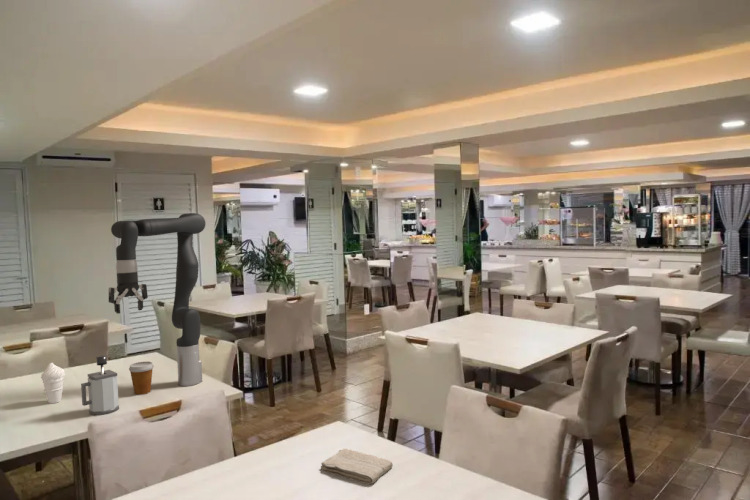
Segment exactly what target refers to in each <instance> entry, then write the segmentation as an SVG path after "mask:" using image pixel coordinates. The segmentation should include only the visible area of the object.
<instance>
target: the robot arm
mask: <svg viewBox="0 0 750 500" xmlns="http://www.w3.org/2000/svg"><path fill="white" fill-rule="evenodd" d="M205 228H206V219H205V218H204V216H202V214H199V213H197V212H196V213H195V212H192V213H191V212H189V213H182V214H181V215H179V217H171V218H167V217H163V218H145V219H138V220H118V221H116V222H114V223H113V224H112V225H111V228H110V232H111V234H112V235H113V237H115V238H117V239H120V244H119V245H117V246H116V247H115V256H116V264H115V267H116V268H115V269H116V284H117V285H116V287H112V286H111V287H108V303H111V304H113V306H114V307H113V308H114V313H116V314H121V304H120V302H121V301H122V300H123V299H124V298H129V297H135V298H136V299H137V310H138V311H142V310H143V309H144V300H146V299H148V288H147V284H145V283H140V284H139V273H138V269H139V268H138V262H137V253H136V247H137V244H138V237H152V236H153V237H154V236H159V235H161V236H162V235H167V234H172V233H173V234H174V233H176V236H177V237H176V239H177V251H176V253H177V254H176V255H177V257H176V266H175V267H176V270H175V290H174V300H173V306H172V312H171V322H172V325H173V327H175V328H176V329H178V330H179V329H180V330H182V331H181V336H180V337H179V338H177V339H176V343H175V344H176V357H177V381H178V384H177V385H179V386H183V387H187V386H188V387H189V386H195V385H197V384H200V383H202V382H203V368H202V367H203V366H202V360H201V359H200V347H199V346H200V344H199V343H200V338H201V316H200V313H199V311H198V310H197V309H195V308H190V306H189V305H190V296H191V294H192V292H193V290H194V288H195V287H196V285H197V282H198V278H199V267H200V266H199V261H198V257H197V255H196V252H195V250H194V246H193V239H194V238H193V237H194V235H197V234H200V233H202V232H203V231H204V230H205ZM139 289H140V292H141V294H140V293H139V292H138V291H139ZM116 292H118V293H117V295H116V297H115V293H116Z"/></svg>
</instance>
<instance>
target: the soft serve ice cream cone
mask: <svg viewBox="0 0 750 500" xmlns="http://www.w3.org/2000/svg"><path fill="white" fill-rule="evenodd" d="M65 375H66V372H65V370H64V369H63V368H62V367H60V366H58V365H56V364H54V362H50V363H48V364H47V366H46V369H45V370H44V371H43V372H42V373H41V376H40V379H41V381H42V383H43V388H44V390H43V391H44V393H45V395H46V398H47V402H48V404H51V403H52V404H58V403H60V402H61V401H62V395H63V391H64V380H65ZM57 402H58V403H57Z"/></svg>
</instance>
